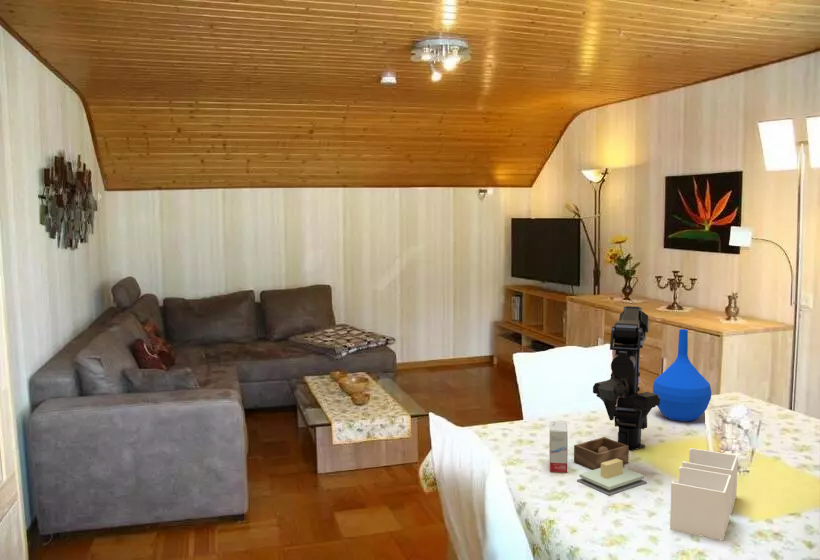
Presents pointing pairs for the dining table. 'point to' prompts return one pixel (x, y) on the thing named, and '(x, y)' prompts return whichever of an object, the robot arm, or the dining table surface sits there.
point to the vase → (682, 387)
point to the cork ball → (602, 449)
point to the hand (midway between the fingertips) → (624, 424)
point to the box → (592, 459)
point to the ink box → (558, 447)
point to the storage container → (704, 494)
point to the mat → (612, 491)
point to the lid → (611, 475)
